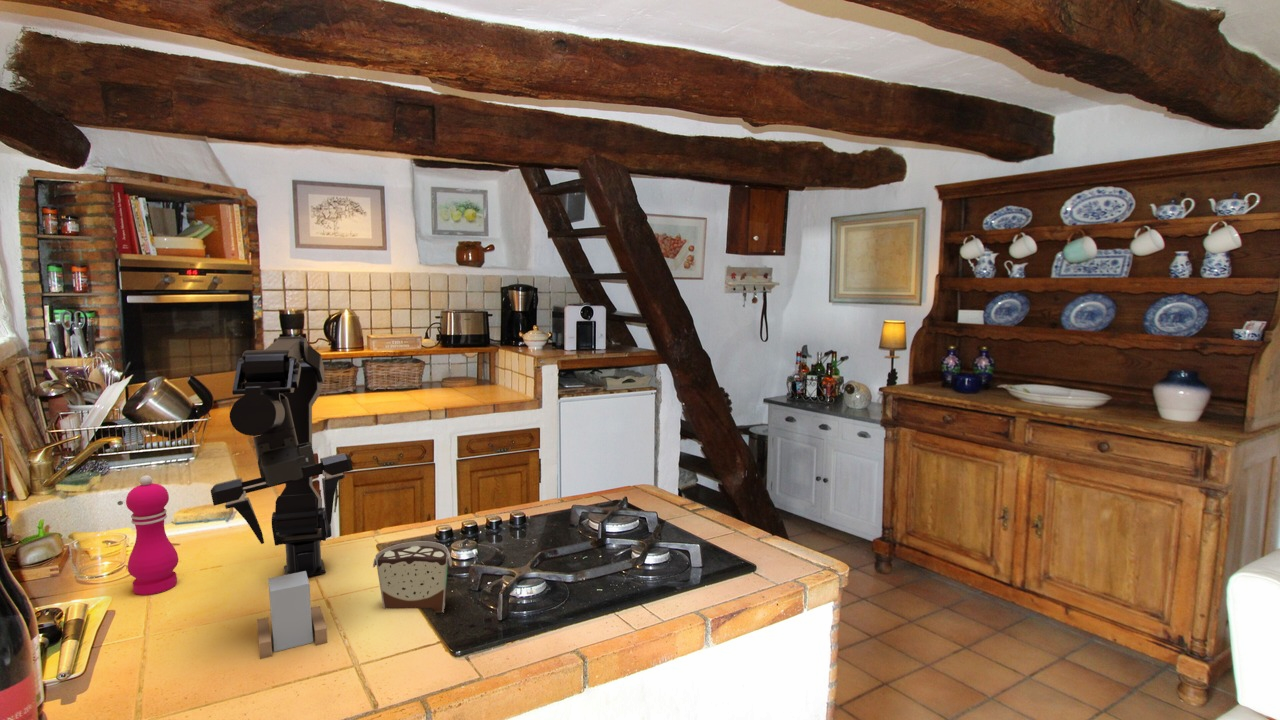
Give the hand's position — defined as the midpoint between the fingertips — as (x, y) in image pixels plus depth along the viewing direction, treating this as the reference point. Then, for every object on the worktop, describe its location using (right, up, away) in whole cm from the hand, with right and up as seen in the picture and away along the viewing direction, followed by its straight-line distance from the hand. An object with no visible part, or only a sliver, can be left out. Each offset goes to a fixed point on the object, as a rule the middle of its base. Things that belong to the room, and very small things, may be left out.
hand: (296, 533), depth 105 cm
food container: (+15, -14, +10) cm, 23 cm away
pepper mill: (-33, -14, +16) cm, 39 cm away
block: (+1, -15, -3) cm, 15 cm away
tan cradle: (+2, -16, -5) cm, 17 cm away
